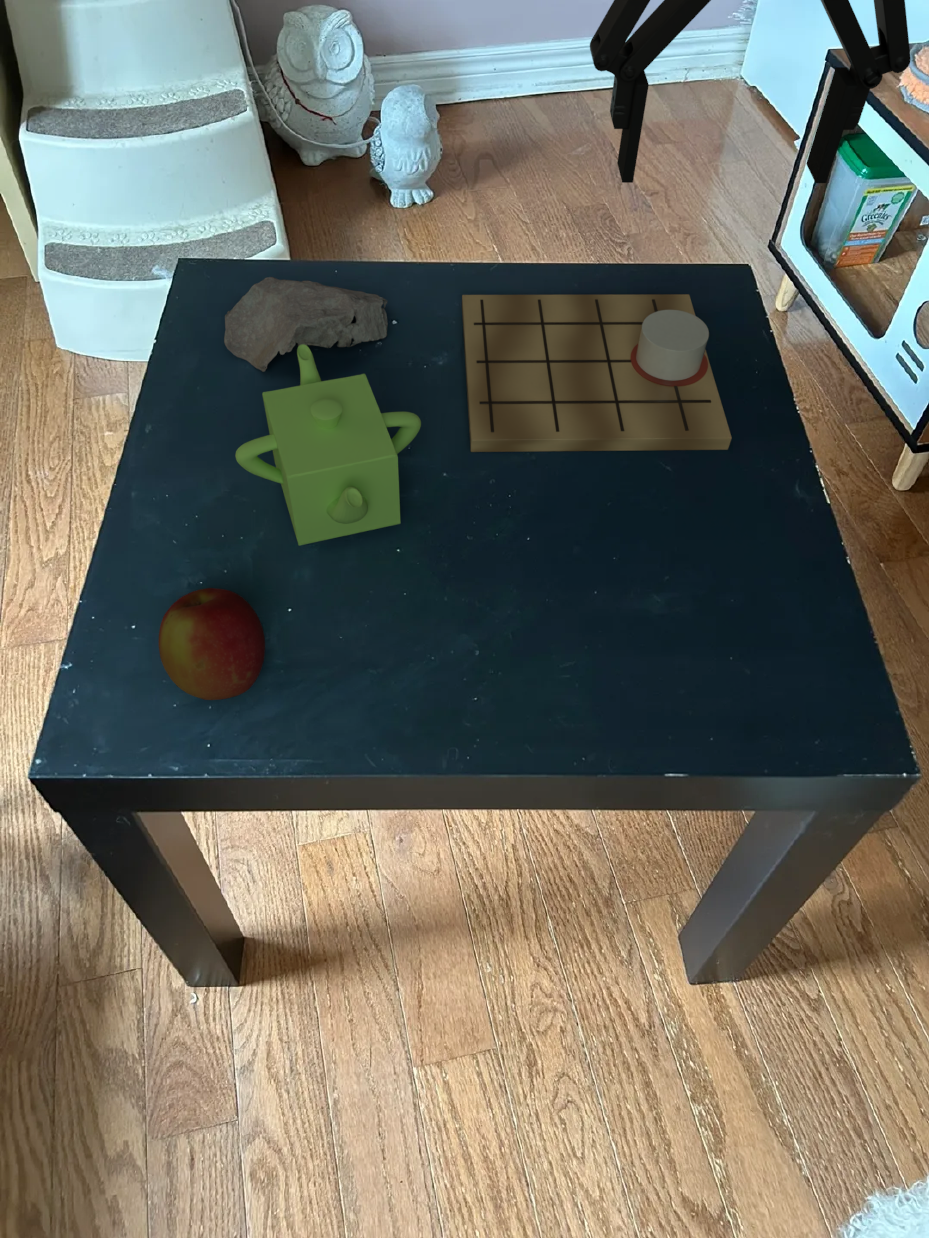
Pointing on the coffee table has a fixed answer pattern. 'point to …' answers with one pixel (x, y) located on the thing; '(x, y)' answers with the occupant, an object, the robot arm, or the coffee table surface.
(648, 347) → the gray cylinder
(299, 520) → the teapot
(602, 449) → the board
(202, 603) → the apple
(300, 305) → the stone
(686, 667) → the coffee table surface
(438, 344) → the coffee table surface
